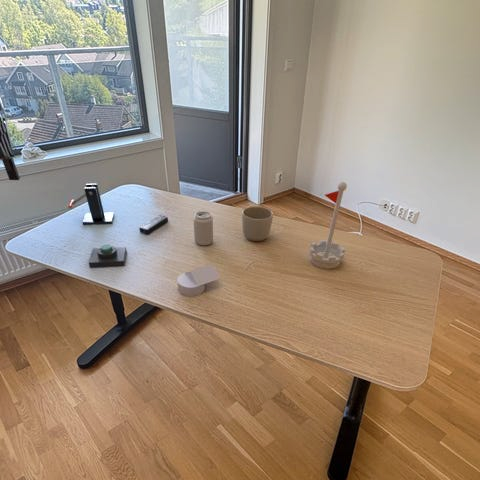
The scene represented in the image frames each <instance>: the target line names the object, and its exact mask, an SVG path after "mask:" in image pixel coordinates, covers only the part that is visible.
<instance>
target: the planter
mask: <svg viewBox="0 0 480 480" xmlns="http://www.w3.org/2000/svg"><path fill="white" fill-rule="evenodd" d="M273 218H274V212H273V210H271V209H270V208H268V207H265V206H257V205H255V206H254V205H253V206H248V207H246V208H244V209H243V210H242V212H241V225H242V233H243V236H244V237H245V238H246V239H248V240H250V241H251V242H261V241H264V240H266V239H267V238H268V237H269V236H270V234H271V229H272V224H273Z"/></svg>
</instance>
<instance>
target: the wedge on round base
mask: <svg viewBox="0 0 480 480" xmlns="http://www.w3.org/2000/svg"><path fill="white" fill-rule="evenodd" d="M219 279H221V277H220V275H219V273H218V272H217V269H216V267H215V265H214V263H210V264H208V265H203V266H201V267H198V268H195V269H193V270H189V271H187V272H184V273H182V274H180V275H178V277H177V278H176V281H177V290H178V292H179V293H180V294H181V295H183V296H188V297H195V296H198V295H200V294H203V293H204V292H205V288H206V284H208V283H211V282H214V281H217V280H219Z"/></svg>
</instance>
